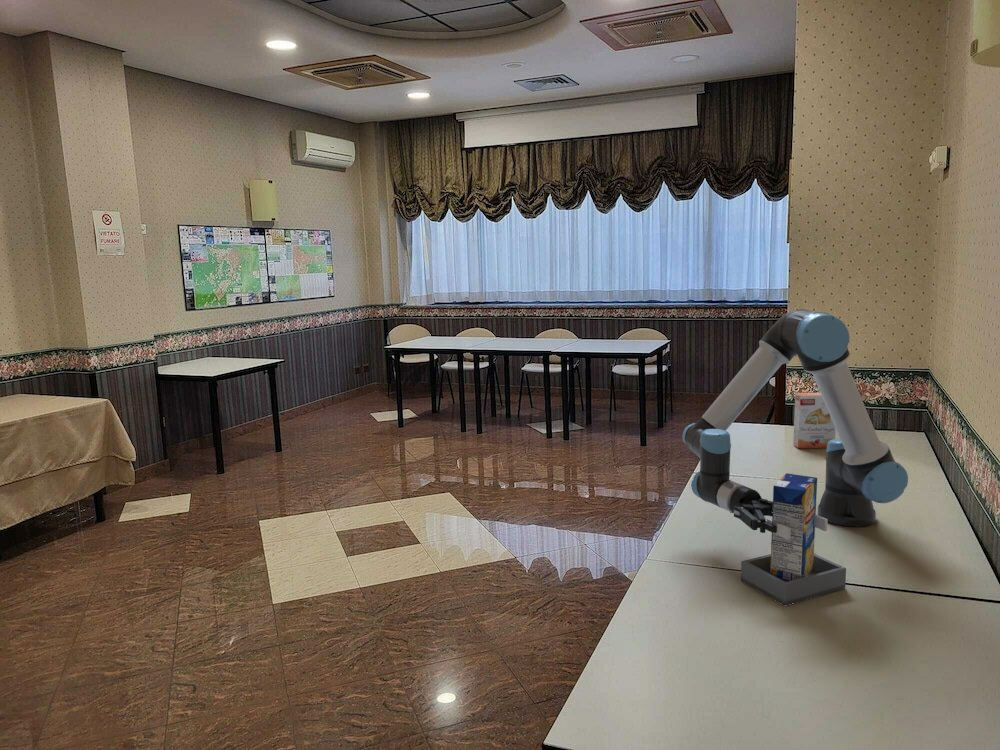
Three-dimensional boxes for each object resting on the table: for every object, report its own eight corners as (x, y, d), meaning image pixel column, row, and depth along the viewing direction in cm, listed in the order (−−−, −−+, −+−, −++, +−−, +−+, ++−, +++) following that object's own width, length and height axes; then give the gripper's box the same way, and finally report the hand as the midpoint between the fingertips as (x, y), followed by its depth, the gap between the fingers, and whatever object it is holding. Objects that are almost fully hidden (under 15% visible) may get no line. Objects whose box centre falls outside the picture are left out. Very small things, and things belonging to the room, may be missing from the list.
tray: (798, 566, 183) (799, 546, 182) (845, 588, 171) (846, 568, 170) (740, 581, 176) (741, 561, 175) (784, 606, 164) (785, 584, 163)
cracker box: (798, 449, 283) (800, 395, 280) (792, 445, 289) (794, 392, 286) (835, 448, 283) (838, 394, 279) (829, 444, 289) (831, 391, 285)
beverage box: (770, 577, 171) (773, 485, 167) (783, 560, 179) (786, 473, 176) (801, 585, 167) (805, 490, 163) (813, 567, 175) (817, 477, 172)
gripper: (774, 507, 192) (844, 536, 172) (702, 522, 183) (768, 554, 163) (775, 479, 191) (846, 505, 171) (703, 492, 182) (769, 522, 162)
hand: (808, 529), depth 167 cm, fingers closed on beverage box, 10 cm apart
